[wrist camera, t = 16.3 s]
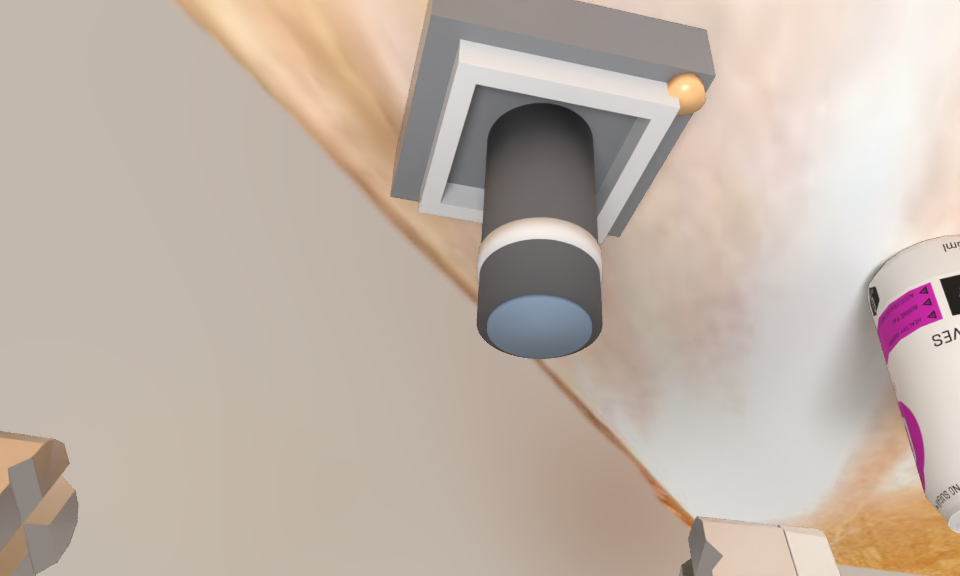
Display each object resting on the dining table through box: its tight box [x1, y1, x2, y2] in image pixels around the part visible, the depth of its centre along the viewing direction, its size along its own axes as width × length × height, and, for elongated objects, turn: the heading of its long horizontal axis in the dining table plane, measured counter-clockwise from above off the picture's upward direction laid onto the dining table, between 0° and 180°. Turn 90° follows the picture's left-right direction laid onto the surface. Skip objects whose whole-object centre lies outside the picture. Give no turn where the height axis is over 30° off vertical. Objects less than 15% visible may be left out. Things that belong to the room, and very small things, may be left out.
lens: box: [477, 103, 603, 359], centre depth 35 cm, size 5×5×10 cm
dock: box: [390, 0, 715, 244], centre depth 38 cm, size 12×11×4 cm
